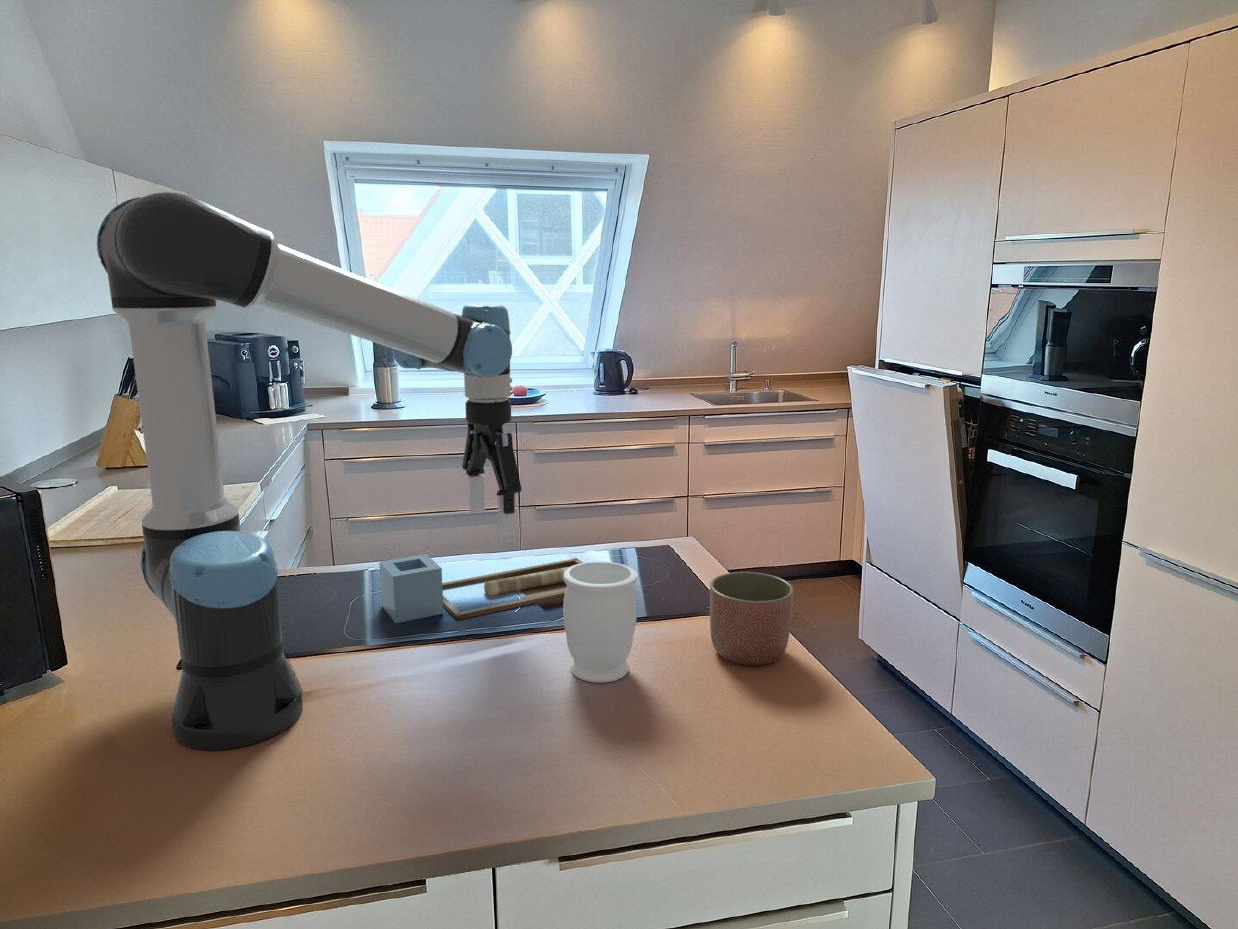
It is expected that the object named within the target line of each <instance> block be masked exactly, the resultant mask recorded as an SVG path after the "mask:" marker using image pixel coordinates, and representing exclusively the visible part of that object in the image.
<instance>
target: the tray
mask: <svg viewBox="0 0 1238 929" xmlns="http://www.w3.org/2000/svg"><path fill="white" fill-rule="evenodd" d="M580 563H584V562H583V561H582V560H580V559H578V558H577V557H576V558H571V559H565V560H560V561H554V562H548V563H542V564H538V565H531V566H526V567H523V568H516V569H512V570H505V571H500V572H496V573H489V574H484V575H478V576H474V577H473V576H472V577H469V578H463V579H462V578H461V579H458V580H451V581H447V582H442V589H443V590H446V589H451V588H456V587H462V586H465V585H472V584H477V583H482V582H488V581H494V580H499V579H505V578H510V577H516V576H521V575H527V574H532V573H538V572H543V571H549V570H554V569H560V568H565V567H571V566H573V565H576V564H580ZM566 587H567V585H566V583H565V582H562V583H557V584H552V585H547V586H541V587H536V588H531V589H526V590H521V591H519V592H521V593H522V594H523V595H524V596H525V597H526V598H522V599H518V600H513V601H509V602H503V603H498V604H494V605H488V606H483V607H478V608H474V609H468V610H465V611H463V610H462V611H459V609H458V608H457V607H455V605H454V604H453V603H452V602H450V601H449V599H448V598H446V597H445V596H444V595H443V608H444V609H445V610H446V611H447V612H449V614H450V615H451V616H452V617H453V618H454V619H456V621H458V620H462V619H467V618H472V617H476V616H481V615H485V614H491V613H495V612H500V611H505V610H509V609H513V608H515V609H516V608H519V607H523V606H528V605H533V604H535V605H537V606H538V607H539V608H545V607H551V606H556V605H560V604H563V603H564V595H565V590H566Z"/></svg>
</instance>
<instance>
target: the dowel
mask: <svg viewBox="0 0 1238 929" xmlns="http://www.w3.org/2000/svg"><path fill="white" fill-rule="evenodd" d="M567 568H569V567H565V568H560V569H554V570H549V571H543V572H538V573H532V574H527V575H521V576H516V577H510V578H505V579H504V578H499V579H494V580H488V581H484V586H483V588H484V593H485V595H487V596H488V597H492V596H497V595H504V594H507V593H513V592H520V591H521V590H526V589H531V588H536V587H541V586H547V585H552V584H557V583H562V582H564V579H563V575H564V571H565V570H566V569H567Z"/></svg>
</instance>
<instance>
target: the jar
mask: <svg viewBox="0 0 1238 929" xmlns="http://www.w3.org/2000/svg"><path fill="white" fill-rule="evenodd" d="M563 579H564V582H565V583H566V585H567V587H566V590H565V595H564V603H562V605H563V606H562V614H563V616H562V617H563V626H564V630H565V636H566V644H567V647H568V650H569V654H570V656H571V658H572V662H571V664H570V671H571V673H572V674H573V675H574V677H576V678H578V679H579V680H582V681H585V682H589V683H601V684H602V683H610V682H615V681H618V680H620V679H622V678H624V677H625V676H626V675H627V674H628V672H629V664H628V661H627V660H628V657H629V655H630V653H631V649H632V646H633V642H634V634H635V630H636V625H637V615H638V614H637V612H638V611H637V608H638V607H637V598H636V592H635V588H634V586H635V584H636V583H637V581H638V573H637V571H636V570H635V569H634V568H632V567H631V566H629V565H626V564H623V563H618V562H613V561H612V562H611V561H588V562H583V563H580V564H576V565H573V566H571V567H569V568H567V569H566V570H565V571H564V575H563Z"/></svg>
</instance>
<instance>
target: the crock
mask: <svg viewBox="0 0 1238 929" xmlns="http://www.w3.org/2000/svg"><path fill="white" fill-rule="evenodd" d="M379 577H380V579H379V580H380V593H381V594H380V595H381V607H382V608H383V610H384V611H385V612H386V613H387V615H388V616H389V617H390V618H391V619H392V621H393V622H394V624H398V623H405V622H409V621H415V620H420V619H423V618H428V617H432V616H433V617H434V616H438V615H444V613H445V612H444V606H443V596H444V593H443V590H444V589H442V583H443V568H442V567H441V566H440V565H439V564H438V563H437V562H435V561H434V560H433V559H432V558H431V556H429V555H428V554H427V553H425V554H424V553H423V554H418V555H412V556H407V557H401V558H395V559H389V560H388V559H387V560H383V561H379Z"/></svg>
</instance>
